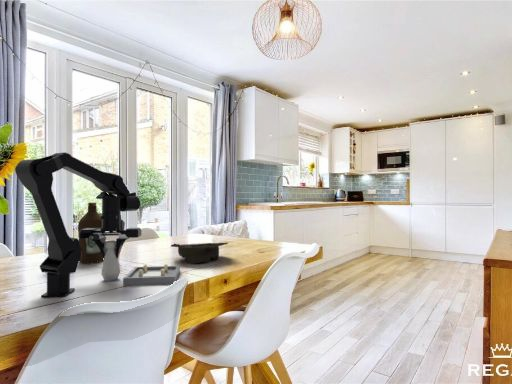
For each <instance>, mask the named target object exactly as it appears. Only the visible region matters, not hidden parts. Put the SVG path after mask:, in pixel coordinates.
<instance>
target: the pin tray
mask: <svg viewBox="0 0 512 384" xmlns="http://www.w3.org/2000/svg"><path fill="white" fill-rule="evenodd" d="M180 272H181V266H180V265H168V263H166V264H165V263H164V265H161V266H160V265H159V266H156V265H155V266H154V265H152V266H148V264H143V266H135V267H134V268H132V269H131V270H130V271H129V272H128V273H127V274H126V275H125V276H124V277H123V278H122V286H132V285H133V286H140V285H141V286H142V285H168V284H169V285H172V283H173V282H174V281H176V282H177V280H178V277H179V275H180Z"/></svg>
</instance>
